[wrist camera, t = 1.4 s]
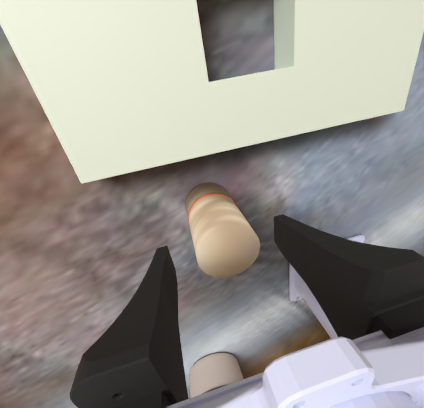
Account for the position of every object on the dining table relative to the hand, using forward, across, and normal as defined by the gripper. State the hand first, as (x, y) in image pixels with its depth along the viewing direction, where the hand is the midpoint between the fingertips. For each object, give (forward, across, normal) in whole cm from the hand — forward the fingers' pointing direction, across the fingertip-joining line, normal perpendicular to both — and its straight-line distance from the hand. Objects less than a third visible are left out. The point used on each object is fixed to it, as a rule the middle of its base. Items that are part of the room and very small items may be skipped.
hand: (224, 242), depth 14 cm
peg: (+6, 0, 0) cm, 6 cm away
